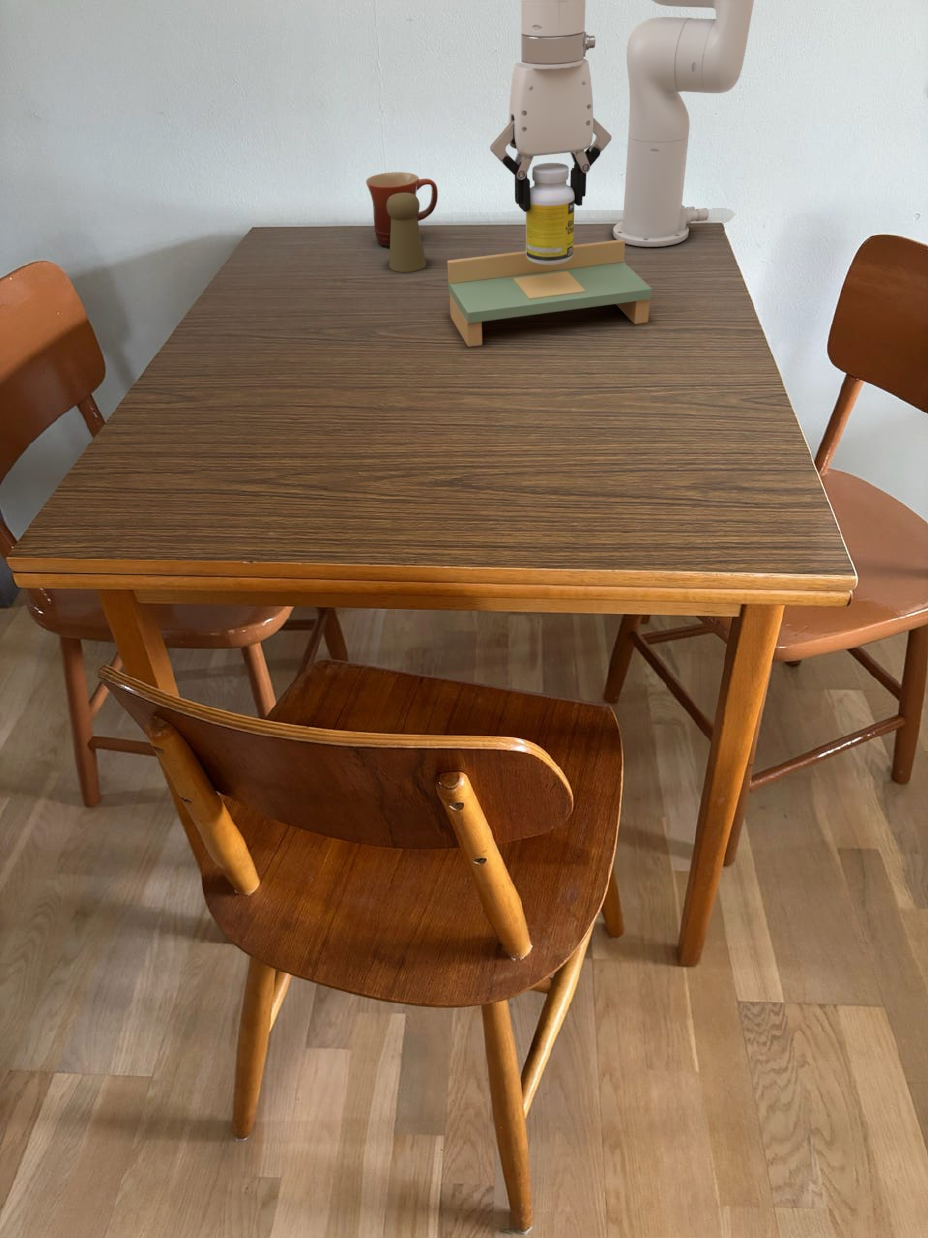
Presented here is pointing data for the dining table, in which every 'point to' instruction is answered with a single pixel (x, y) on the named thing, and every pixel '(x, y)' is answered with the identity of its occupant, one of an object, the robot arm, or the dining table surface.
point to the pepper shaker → (405, 233)
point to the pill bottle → (550, 216)
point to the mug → (387, 186)
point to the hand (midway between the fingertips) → (550, 204)
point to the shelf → (543, 286)
